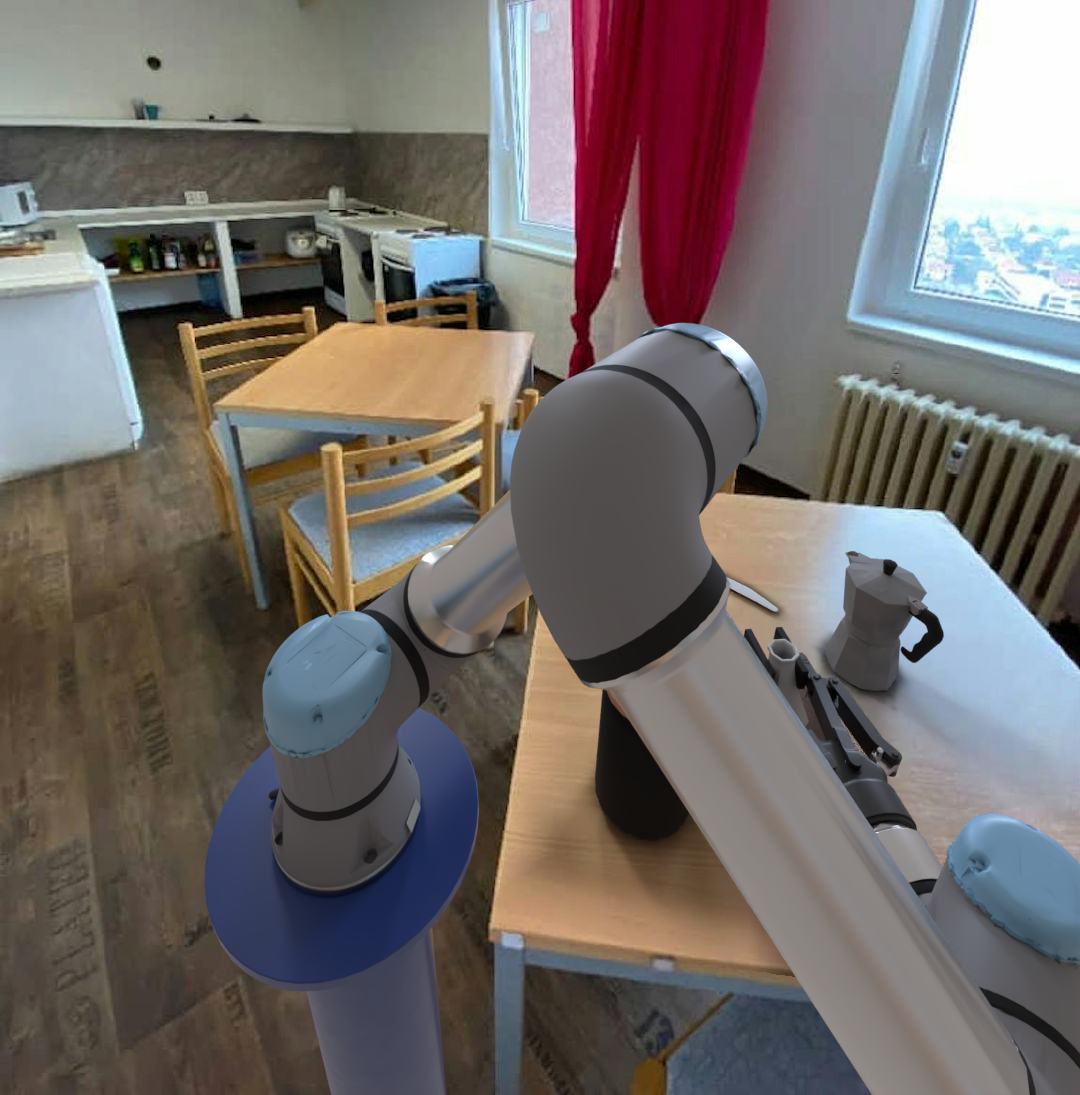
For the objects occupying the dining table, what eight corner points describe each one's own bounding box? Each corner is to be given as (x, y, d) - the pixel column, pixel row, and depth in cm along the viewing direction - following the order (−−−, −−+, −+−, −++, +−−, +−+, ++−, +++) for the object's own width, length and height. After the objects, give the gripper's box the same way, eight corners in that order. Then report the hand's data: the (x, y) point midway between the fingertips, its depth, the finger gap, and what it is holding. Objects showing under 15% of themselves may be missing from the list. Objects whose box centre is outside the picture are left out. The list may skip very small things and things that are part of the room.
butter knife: (640, 527, 112) (631, 534, 110) (782, 605, 95) (774, 614, 93) (640, 530, 112) (630, 536, 110) (781, 608, 95) (773, 617, 93)
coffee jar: (689, 759, 72) (708, 646, 65) (691, 858, 62) (714, 737, 55) (599, 741, 74) (609, 628, 67) (588, 833, 64) (598, 713, 57)
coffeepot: (800, 636, 89) (824, 536, 82) (851, 623, 92) (879, 525, 85) (883, 728, 76) (920, 618, 69) (940, 710, 78) (982, 602, 72)
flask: (729, 697, 74) (736, 635, 70) (777, 678, 76) (787, 617, 72) (768, 749, 68) (779, 685, 64) (820, 728, 70) (833, 664, 66)
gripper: (782, 883, 53) (693, 663, 74) (954, 865, 55) (818, 654, 76) (798, 829, 50) (701, 616, 72) (979, 811, 52) (831, 608, 73)
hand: (761, 636), depth 74 cm, fingers closed on flask, 3 cm apart
